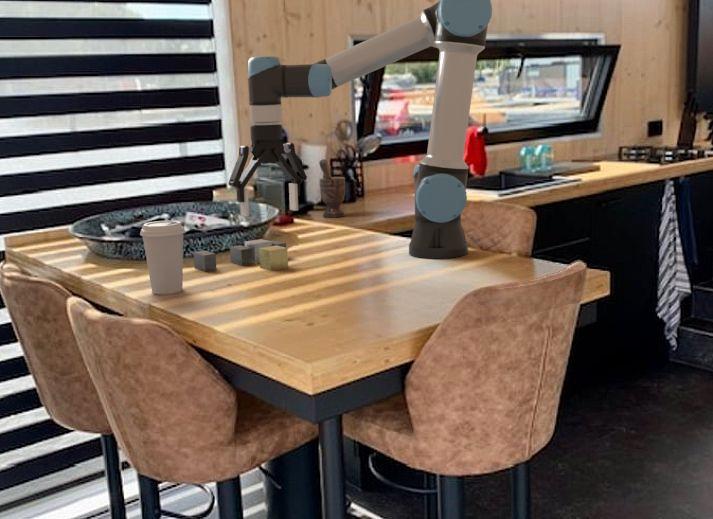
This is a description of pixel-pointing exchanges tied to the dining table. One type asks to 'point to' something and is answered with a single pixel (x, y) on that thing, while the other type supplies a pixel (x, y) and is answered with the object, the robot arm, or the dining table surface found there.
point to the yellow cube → (273, 258)
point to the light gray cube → (257, 248)
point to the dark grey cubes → (237, 255)
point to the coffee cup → (164, 255)
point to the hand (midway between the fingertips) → (269, 213)
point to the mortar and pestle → (331, 191)
